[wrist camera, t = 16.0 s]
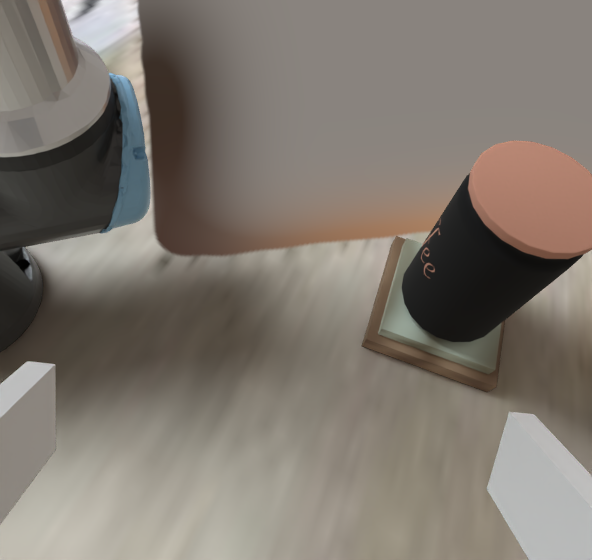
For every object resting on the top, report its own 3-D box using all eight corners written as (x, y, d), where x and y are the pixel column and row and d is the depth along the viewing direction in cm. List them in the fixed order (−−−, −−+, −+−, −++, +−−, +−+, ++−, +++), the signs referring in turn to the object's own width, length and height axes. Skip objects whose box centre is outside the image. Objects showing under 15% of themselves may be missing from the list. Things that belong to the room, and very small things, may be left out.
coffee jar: (433, 241, 54) (514, 119, 38) (512, 300, 51) (633, 196, 36) (378, 299, 50) (444, 188, 34) (461, 368, 47) (575, 282, 31)
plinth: (361, 345, 51) (370, 333, 48) (391, 245, 57) (400, 228, 54) (487, 392, 50) (503, 382, 47) (502, 284, 57) (517, 269, 54)
